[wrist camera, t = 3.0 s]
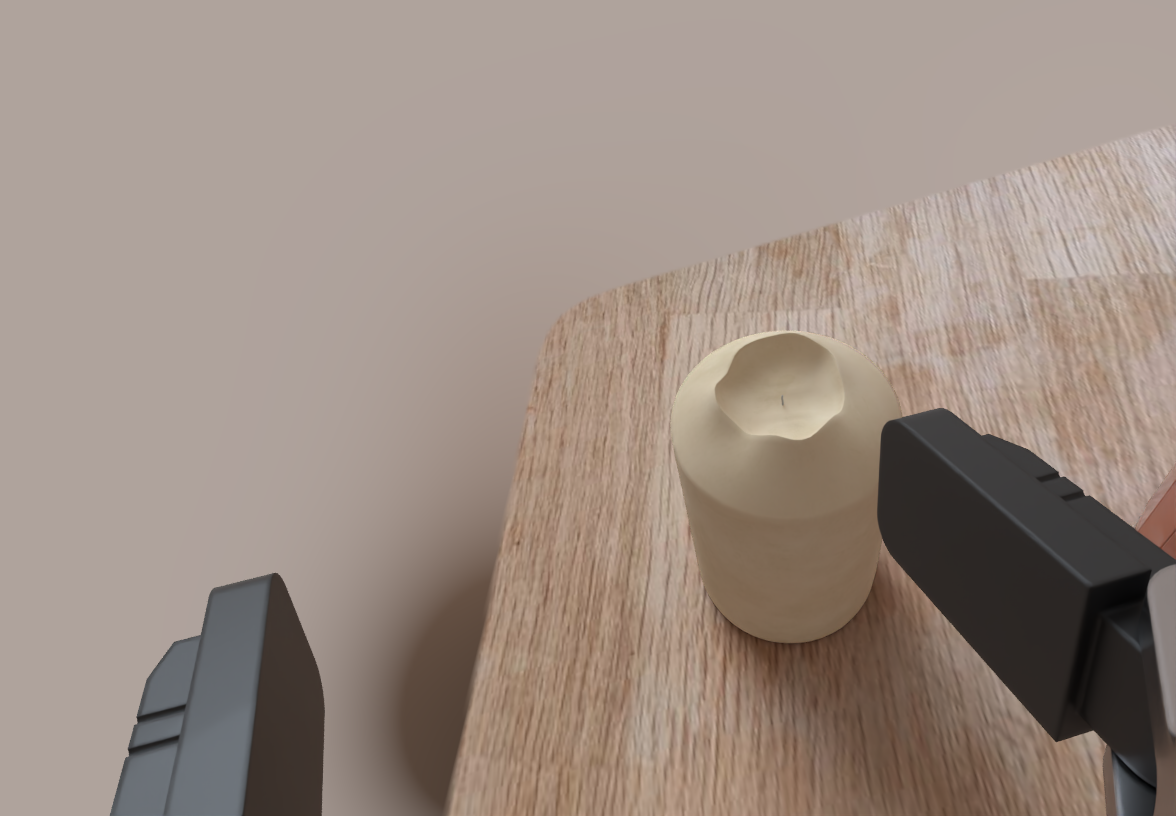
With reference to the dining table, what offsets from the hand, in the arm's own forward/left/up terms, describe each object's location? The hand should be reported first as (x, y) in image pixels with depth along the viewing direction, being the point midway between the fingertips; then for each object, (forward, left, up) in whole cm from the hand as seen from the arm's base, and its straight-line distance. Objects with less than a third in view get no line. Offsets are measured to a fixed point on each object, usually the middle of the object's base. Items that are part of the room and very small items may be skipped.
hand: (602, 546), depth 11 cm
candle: (+2, +7, -17) cm, 18 cm away
